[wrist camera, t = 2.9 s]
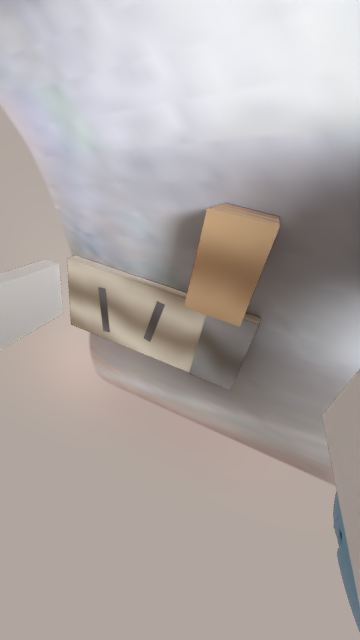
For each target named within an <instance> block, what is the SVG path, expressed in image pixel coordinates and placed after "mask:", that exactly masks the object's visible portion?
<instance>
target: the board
mask: <svg viewBox="0 0 360 640" xmlns="http://www.w3.org/2000/svg"><path fill="white" fill-rule="evenodd" d="M67 267H68V283H69V299H70V316H71V325H74V326H76V327H78V328H81V329H84V330H86V331H88V332H91V333H93V334H96V335H98V336H101V337H103V338H106V339H108V340H111V341H113V342H115V343H118V344H120V345H123V346H125V347H128V348H130V349H133V350H135V351H138V352H140V353H143V354H145V355H147V356H150V357H152V358H155V359H157V360H160V361H162V362H165V363H167V364H170V365H172V366H175V367H177V368H180V369H182V370H184V371H187V372H189V374H191V375H194V376H196V377H199V378H201V379H204V380H206V381H209V382H211V383H214V384H216V385H218V386H221V387H223V388H226V389H228V390H230V389H231V387H232V384H233V382H234V380H235V378H236V375H237V373H238V371H239V369H240V366H241V364H242V362H243V360H244V358H245V355H246V353H247V351H248V349H249V346H250V344H251V342H252V340H253V337H254V335H255V333H256V331H257V329H258V326H259V322H260V318H259V317H256V316H253V315H250V314H247V313H245V315H244V318H243V320H242V323H241V325H240V327H239V326H236V325H233V324H230V323H227V322H225V321H222V320H219V319H216V318H213V317H210V316H208V315H205V314H202V313H199V312H196V311H193V310H191V309H188V308H185V307H184V305H185V300H186V296H187V293H185V292H182V291H179V290H176V289H173V288H170V287H167V286H164V285H162V284H159V283H156V282H153V281H150V280H147V279H144V278H141V277H138V276H135V275H132V274H129V273H126V272H123V271H120V270H117V269H114V268H111V267H108V266H105V265H102V264H99V263H97V262H94V261H91V260H88V259H85V258H82V257H79V256H76V255H75V256H72V257H69V258H67Z"/></svg>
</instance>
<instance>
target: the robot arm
mask: <svg viewBox="0 0 360 640" xmlns="http://www.w3.org/2000/svg"><path fill="white" fill-rule="evenodd" d="M62 304H63V303H62V291H61V279H60V268H59V263H56V262H53V261H50V260H47V259H44V260H41V261H38V262H34V263H31V264H28V265H25V266H21V267H18V268H15V269H12V270H8V271H5V272H2V273H0V350H2V349H4V348H5V347H7V346H9V345H11V344H12V343H14V342H16V341H17V340H19V339H21V338H23V337H24V336H26V335H28V334H29V333H31V332H33V331H34V330H36V329H37V328H39V327H41V326H43V325H45V324H46V323H48V322H50V321H51V320H53V319H55V318H57V317H58V316H60V315H62V314H63V305H62ZM322 418H323V423H324V428H325V434H326V439H327V444H328V449H329V454H330V459H331V464H332V469H333V474H334V479H335V484H336V489H337V492H336V495H335V501H334V512H333V513H334V514H333V516H334V529H335V533H336V535H337V539H338V544H339V548H338V551H337V557H338V562H339V567H340V571H341V575H342V579H343V583H344V586H345V590H346V593H347V597H348V600H349V603H350V606H351V609H352V612H353V615H354V618H355V621H356V623H357V626H358V629H359V631H360V369H359V370H358V372H357V373H356V374H355V375H354V377H353V378H352V379H351V380H350V381H349V383H348V384H347V385H346V386H345V388H344V389H343V390H342V391H341V393H340V394H339V395H338V396H337V397H336V399H335V400H334V401H333V402H332V404H331V405H330V406H329V407H328V408H327V410H326V411H325V412H324V413H323V415H322Z"/></svg>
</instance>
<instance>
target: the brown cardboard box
mask: <svg viewBox="0 0 360 640" xmlns="http://www.w3.org/2000/svg"><path fill="white" fill-rule="evenodd" d="M279 228H280V222H279V216H275V215H271V214H267V213H263V212H259V211H255V210H251V209H247V208H244V207H240V206H236V205H232V204H228V203H223V204H220V205H216V206H213V207H209V208H207V211H206V215H205V219H204V224H203V228H202V232H201V236H200V241H199V245H198V249H197V254H196V258H195V262H194V266H193V271H192V275H191V279H190V283H189V288H188V292H187V296H186V300H185V305H184V307H185V308H188V309H191V310H193V311H196V312H199V313H202V314H205V315H208V316H210V317H213V318H216V319H219V320H222V321H225V322H227V323H230V324H233V325H236V326H239V327H240V325H241V323H242V320H243V318H244V315H245V313H246V310H247V308H248V305H249V303H250V300H251V298H252V295H253V293H254V290H255V288H256V285H257V283H258V280H259V278H260V275H261V273H262V270H263V268H264V265H265V263H266V260H267V258H268V255H269V253H270V250H271V248H272V245H273V243H274V240H275V238H276V235H277V233H278V230H279Z"/></svg>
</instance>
